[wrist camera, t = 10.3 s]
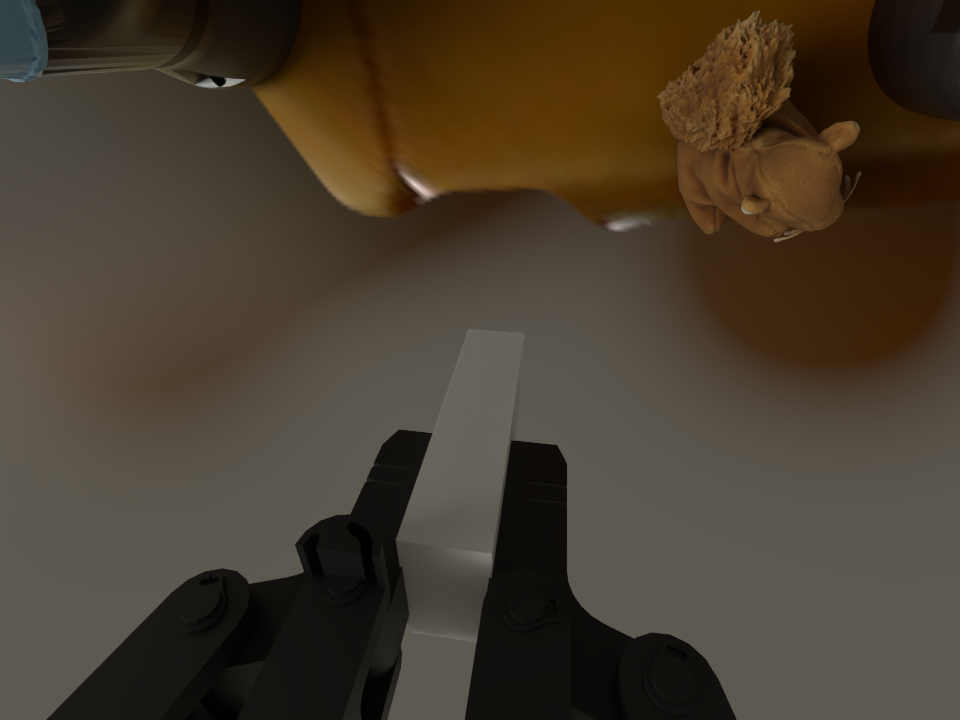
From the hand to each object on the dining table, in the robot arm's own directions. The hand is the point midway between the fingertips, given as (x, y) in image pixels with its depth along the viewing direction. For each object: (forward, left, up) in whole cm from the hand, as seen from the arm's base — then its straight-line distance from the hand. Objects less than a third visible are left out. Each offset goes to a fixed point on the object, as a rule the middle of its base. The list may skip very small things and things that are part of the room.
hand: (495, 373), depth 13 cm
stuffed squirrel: (+9, +10, -33) cm, 36 cm away
